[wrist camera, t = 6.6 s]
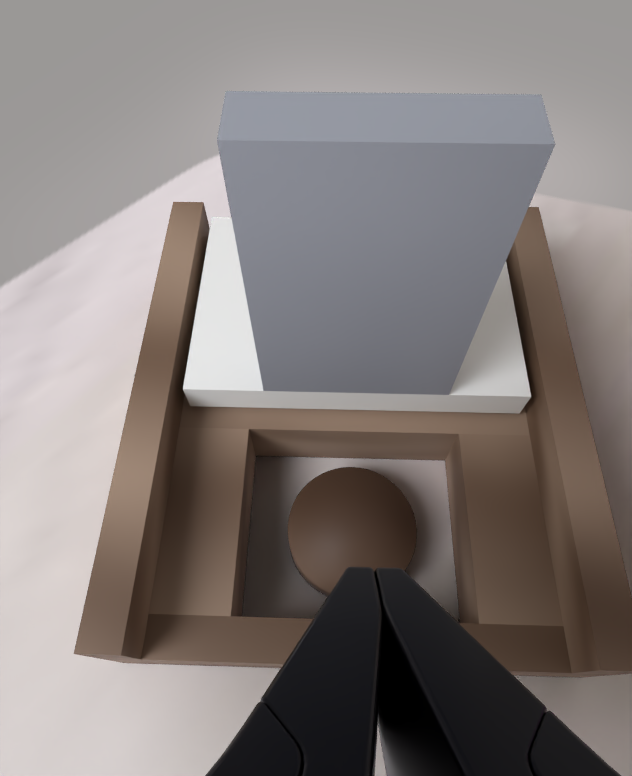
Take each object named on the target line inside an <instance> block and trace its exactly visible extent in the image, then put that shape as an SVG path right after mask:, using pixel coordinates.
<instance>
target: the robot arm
mask: <svg viewBox="0 0 632 776" xmlns="http://www.w3.org/2000/svg"><path fill="white" fill-rule="evenodd" d="M377 725H378V726H379V733H380V740H381V746H382V752H383V757H384V763H385V768H386V774H387V776H621V775H620V774H619V773H617V772H616V771H615V770H614V769H613V768H611V767H610V766H609V765H608V764H607V763H606V762H605V761H604V760H603V759H602V758H600V757H599V756H598V755H597V754H596V753H595V752H594V751H593V750H592V749H591V748H589V747H588V746H587V745H586V744H585V743H584V742H583V741H582V740H581V739H580V738H579V737H577V736H576V735H575V734H574V733H573V732H572V731H571V730H570V729H569V728H568V727H567V726H566V725H565V724H564V723H563V722H562V721H561V720H560V719H558V718H557V717H556V716H555V715H554V714H553V713H552V712H551V711H547V708H546V707H545V705H544V704H543V703H541V702H540V701H539V700H538V699H537V698H536V697H535V696H534V695H533V694H532V693H531V692H530V691H529V690H528V689H527V688H526V687H525V686H524V685H523V684H522V683H521V682H520V681H519V680H517V679H516V678H515V677H514V676H513V675H512V674H511V673H510V672H509V671H508V670H507V669H506V668H505V667H504V666H503V665H502V664H501V663H500V662H499V661H498V660H497V659H496V658H495V657H493V656H492V655H491V654H490V653H489V652H488V651H487V650H486V649H485V648H484V647H483V646H482V645H481V644H480V643H479V642H478V641H477V640H476V639H475V638H474V637H473V636H472V635H471V634H469V633H468V632H467V631H466V630H465V629H464V628H463V627H462V626H461V625H460V624H459V623H458V622H457V621H456V620H455V619H454V618H453V617H452V616H451V615H450V614H449V613H448V612H447V611H446V610H444V609H443V608H442V607H441V606H440V605H439V604H438V603H437V602H436V601H435V600H434V599H433V598H432V597H431V596H430V595H429V594H428V593H427V592H426V591H425V590H424V589H423V588H422V587H420V586H419V585H418V584H417V583H416V582H415V581H414V580H413V579H412V578H411V577H410V576H409V575H408V574H407V573H406V572H405V571H404V570H402V569H401V568H382V567H380V568H377V569H376V570H375V572H374V570H373V569H372V568H371V567H348V568H347V569H346V570H345V571H344V573H343V574H342V576H341V578H340V579H339V581H338V582H337V584H336V585H335V587H334V588H333V590H332V591H331V593H330V594H329V596H328V597H327V599H326V600H325V602H324V603H323V605H322V607H321V608H320V610H319V611H318V613H317V614H316V616H315V617H314V619H313V620H312V622H311V623H310V625H309V626H308V628H307V629H306V631H305V632H304V634H303V636H302V637H301V639H300V640H299V642H298V643H297V645H296V646H295V648H294V649H293V651H292V652H291V654H290V655H289V657H288V658H287V660H286V661H285V663H284V665H283V666H282V668H281V669H280V671H279V672H278V674H277V675H276V677H275V678H274V680H273V681H272V683H271V684H270V686H269V687H268V689H267V690H266V692H265V694H264V695H263V697H262V698H261V702H259V703H258V704H257V705H256V707H255V708H254V710H253V711H252V713H251V714H250V716H249V717H248V719H247V721H246V722H245V724H244V725H243V726H242V728H241V729H240V731H239V732H238V733H237V735H236V736H235V738H234V739H233V741H232V742H231V743H230V745H229V746H228V748H227V749H226V750H225V752H224V753H223V755H222V756H221V757H220V758H219V760H218V761H217V762H216V763H215V764H214V766H213V767H212V768H211V769H210V771H209V772H208V773H207V774H206V775H205V776H375V760H376V744H377Z"/></svg>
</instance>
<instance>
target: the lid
mask: <svg viewBox="0 0 632 776" xmlns="http://www.w3.org/2000/svg"><path fill="white" fill-rule="evenodd" d="M217 142H218V147H219V153H220V159H221V164H222V170H223V175H224V180H225V186H226V191H227V197H228V202H229V207H230V213H231V217H212V219H211V225H210V231H209V237H208V242H207V248H206V254H205V260H204V266H203V272H202V278H201V284H200V290H199V296H198V302H197V308H196V314H195V320H194V326H193V331H192V337H191V343H190V349H189V355H188V361H187V367H186V373H185V379H184V385H183V391H184V393H185V395H186V398H187V400H188V402H189V404H190V406H204V407H249V408H294V409H339V410H384V411H429V412H474V413H519V414H520V412H521V411H522V409H523V408H524V406H525V405H526V404H527V402H528V401H529V399H530V398H531V393H530V387H529V382H528V376H527V371H526V366H525V360H524V355H523V349H522V344H521V339H520V333H519V328H518V323H517V317H516V312H515V306H514V301H513V296H512V290H511V285H510V279H509V274H508V269H507V263H506V259H507V257H508V254H509V252H510V250H511V247H512V245H513V243H514V240H515V238H516V236H517V233H518V231H519V229H520V226H521V224H522V221H523V219H524V217H525V214H526V212H527V210H528V207H529V205H530V203H531V200H532V198H533V196H534V193H535V191H536V188H537V186H538V184H539V181H540V179H541V177H542V174H543V172H544V170H545V167H546V165H547V162H548V160H549V158H550V155H551V153H552V151H553V148H554V146H555V142H554V138H553V135H552V131H551V128H550V124H549V121H548V117H547V114H546V110H545V106H544V103H543V99H542V96H541V95H530V94H529V95H528V94H525V95H524V94H521V95H520V94H437V93H435V94H433V93H343V92H341V93H339V92H337V93H336V92H249V91H248V92H247V91H246V92H245V91H226V93H225V99H224V104H223V110H222V115H221V122H220V126H219V132H218V138H217Z"/></svg>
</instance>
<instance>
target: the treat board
mask: <svg viewBox="0 0 632 776" xmlns="http://www.w3.org/2000/svg"><path fill="white" fill-rule="evenodd" d="M209 231H210V228H209V224H208V220H207V216H206V211H205V207H204V203H203V202H173V206H172V210H171V215H170V219H169V224H168V228H167V233H166V237H165V242H164V246H163V251H162V256H161V260H160V265H159V269H158V274H157V278H156V283H155V287H154V292H153V296H152V301H151V305H150V310H149V315H148V319H147V324H146V328H145V333H144V337H143V342H142V346H141V351H140V355H139V360H138V364H137V369H136V374H135V378H134V383H133V387H132V392H131V396H130V401H129V405H128V410H127V414H126V419H125V423H124V428H123V433H122V437H121V442H120V446H119V451H118V455H117V460H116V464H115V469H114V473H113V478H112V483H111V487H110V492H109V496H108V501H107V505H106V510H105V514H104V519H103V523H102V528H101V532H100V537H99V542H98V546H97V551H96V555H95V560H94V564H93V569H92V573H91V578H90V582H89V587H88V591H87V596H86V601H85V605H84V610H83V614H82V619H81V623H80V628H79V632H78V637H77V641H76V646H75V650H74V654H78V655H83V656H89V657H94V658H100V659H106V660H111V661H117V662H122V663H142V664H174V665H205V666H237V667H268V668H282V666H283V665H284V663H285V661H286V660H287V658H288V657H289V655H290V654H291V652H292V651H293V649H294V648H295V646H296V645H297V643H298V642H299V640H300V639H301V637H302V636H303V634H304V632H305V631H306V629H307V628H308V626H309V625H310V623H311V622H312V620H313V619H305V618H272V617H242V608H243V597H244V586H245V574H246V563H247V552H248V540H249V529H250V517H251V506H252V495H253V483H254V472H255V461H256V456H288V457H330V458H371V459H413V460H445V465H446V475H447V486H448V497H449V508H450V519H451V530H452V540H453V551H454V562H455V573H456V584H457V595H458V606H459V616H460V623H459V624H460V625H461V626H462V627H463V628H464V629H465V630H466V631H467V632H468V633H469V634H471V635H472V636H473V637H474V638H475V639H476V640H477V641H478V642H479V643H480V644H481V645H482V646H483V647H484V648H485V649H486V650H487V651H488V652H489V653H490V654H491V655H492V656H493V657H495V658H496V659H497V660H498V661H499V662H500V663H501V664H502V665H503V666H504V667H505V668H506V669H507V670H508V671H509V672H510V673H511V674H512V675H521V676H552V677H591V676H604V675H616V674H629V673H632V596H631V592H630V588H629V584H628V580H627V575H626V571H625V567H624V563H623V559H622V554H621V550H620V546H619V542H618V538H617V533H616V529H615V525H614V521H613V517H612V513H611V508H610V504H609V500H608V496H607V492H606V487H605V483H604V479H603V475H602V471H601V466H600V462H599V458H598V454H597V450H596V445H595V441H594V437H593V433H592V429H591V425H590V420H589V416H588V412H587V408H586V404H585V399H584V395H583V391H582V387H581V383H580V378H579V374H578V370H577V366H576V362H575V357H574V353H573V349H572V345H571V341H570V337H569V332H568V328H567V324H566V320H565V316H564V311H563V307H562V303H561V299H560V295H559V290H558V286H557V282H556V278H555V274H554V269H553V265H552V261H551V257H550V253H549V249H548V244H547V240H546V236H545V232H544V228H543V223H542V219H541V215H540V211H539V207H528V210H527V212H526V214H525V217H524V219H523V221H522V224H521V226H520V229H519V231H518V233H517V236H516V238H515V240H514V243H513V245H512V247H511V250H510V252H509V254H508V257H507V259H506V263H507V269H508V274H509V279H510V285H511V290H512V296H513V301H514V306H515V312H516V317H517V323H518V328H519V333H520V339H521V344H522V349H523V355H524V360H525V366H526V371H527V376H528V382H529V387H530V393H531V398H530V399H529V401H528V402H527V404H526V405H525V406H524V408H523V409H522V411H521V412H520V414H519V413H474V412H429V411H384V410H339V409H294V408H249V407H204V406H190V404H189V402H188V400H187V398H186V395H185V393H184V391H183V385H184V379H185V373H186V367H187V361H188V355H189V349H190V343H191V337H192V331H193V326H194V320H195V314H196V308H197V302H198V296H199V290H200V284H201V278H202V272H203V266H204V260H205V254H206V248H207V242H208V237H209ZM288 539H289V545H290V550H291V554H292V558H293V561H294V563H295V565H296V568H297V569H298V571H299V573H300V574H301V576H302V577H303V578H304V579H305V581H306V582H307V583H308V584H309V585H310V586H311V587H313V588H314V589H315V590H317V591H318V592H320V593H322V594H323V595H325V596H329V594H330V593H331V591H332V590H333V588H334V587H335V585H336V584H337V582H338V581H339V579H340V578H341V576H342V574H343V573H344V571H345V570H346V569H347V568H348V567H371V568H372V569H373V570H374V572H375V570H376V569H377V568H380V567H382V568H401V569H402V570H404V571H405V570H406V568H407V566H408V565H409V563H410V561H411V559H412V556H413V554H414V550H415V546H416V539H417V528H416V521H415V517H414V513H413V511H412V508H411V506H410V504H409V502H408V500H407V498H406V497H405V496H404V494H403V493H402V492H401V490H400V489H399V488H398V487H397V486H396V485H395V484H393V483H392V482H391V481H390V480H388V479H387V478H385V477H384V476H382V475H380V474H378V473H376V472H373V471H370V470H367V469H362V468H355V467H346V468H338V469H334V470H330V471H327V472H325V473H323V474H321V475H319V476H317V477H316V478H314V479H313V480H312V481H310V482H309V483H308V484H307V485H306V486H305V487H304V488H303V489H302V490H301V492H300V493H299V494H298V496H297V498H296V499H295V501H294V503H293V506H292V508H291V511H290V515H289V520H288Z"/></svg>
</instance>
